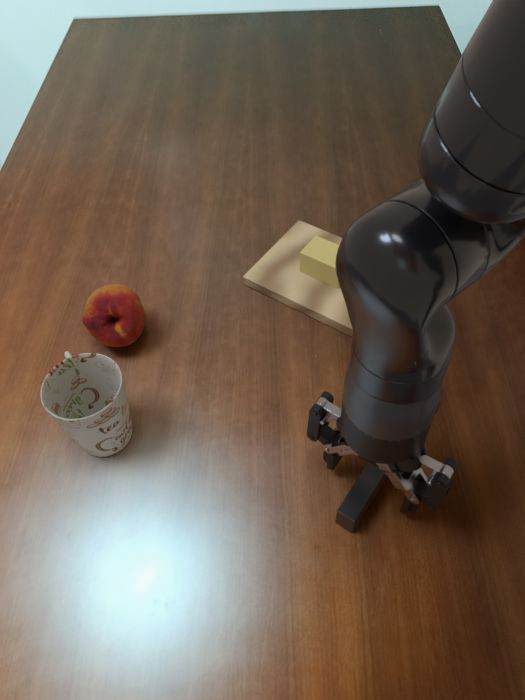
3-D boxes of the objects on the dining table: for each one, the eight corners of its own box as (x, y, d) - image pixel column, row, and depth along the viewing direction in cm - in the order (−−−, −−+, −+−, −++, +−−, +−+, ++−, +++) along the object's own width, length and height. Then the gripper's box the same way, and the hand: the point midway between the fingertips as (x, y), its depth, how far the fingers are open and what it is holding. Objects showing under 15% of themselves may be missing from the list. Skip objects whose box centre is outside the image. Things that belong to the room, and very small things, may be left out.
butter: (352, 270, 79) (354, 251, 76) (337, 288, 77) (338, 269, 74) (315, 254, 81) (315, 235, 79) (299, 271, 79) (299, 252, 77)
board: (435, 284, 79) (437, 276, 78) (385, 353, 72) (387, 345, 71) (298, 227, 87) (298, 219, 86) (243, 284, 80) (242, 276, 79)
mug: (87, 480, 63) (57, 434, 55) (46, 401, 70) (14, 350, 62) (155, 441, 66) (136, 392, 58) (109, 368, 73) (86, 316, 65)
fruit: (83, 356, 74) (63, 315, 68) (102, 309, 79) (85, 266, 73) (142, 361, 73) (128, 320, 67) (158, 313, 78) (146, 270, 72)
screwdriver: (352, 533, 58) (354, 522, 56) (334, 522, 59) (336, 510, 57) (438, 394, 68) (443, 379, 66) (422, 386, 69) (426, 371, 66)
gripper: (290, 390, 48) (292, 476, 61) (451, 479, 43) (416, 553, 56) (337, 331, 52) (330, 424, 65) (491, 407, 46) (450, 492, 59)
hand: (370, 484), depth 60 cm, fingers open, 8 cm apart
